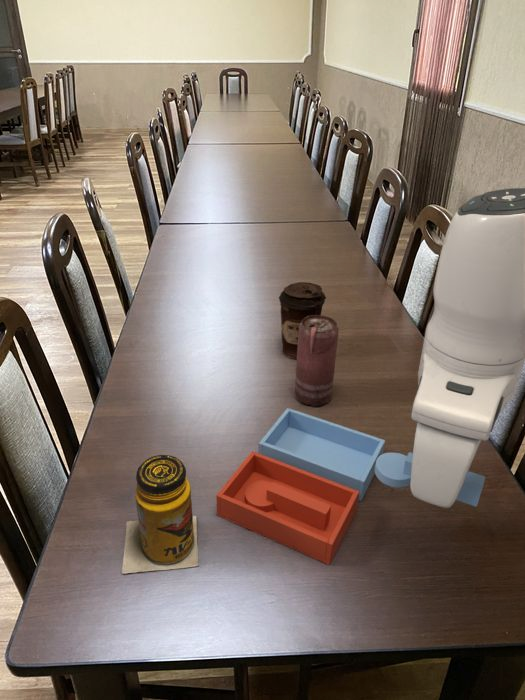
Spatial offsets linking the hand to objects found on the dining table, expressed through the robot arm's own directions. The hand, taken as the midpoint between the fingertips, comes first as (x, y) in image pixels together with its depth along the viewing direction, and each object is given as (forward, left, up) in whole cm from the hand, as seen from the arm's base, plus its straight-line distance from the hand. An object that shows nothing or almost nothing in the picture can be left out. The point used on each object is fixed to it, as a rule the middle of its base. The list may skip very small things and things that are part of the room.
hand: (443, 476), depth 57 cm
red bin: (+17, +3, -12) cm, 21 cm away
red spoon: (+17, +3, -11) cm, 20 cm away
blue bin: (+17, -8, -12) cm, 22 cm away
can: (+24, -22, -12) cm, 34 cm away
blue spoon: (+2, 0, -2) cm, 2 cm away
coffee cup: (+32, -34, -12) cm, 48 cm away
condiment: (+28, +14, -12) cm, 33 cm away
